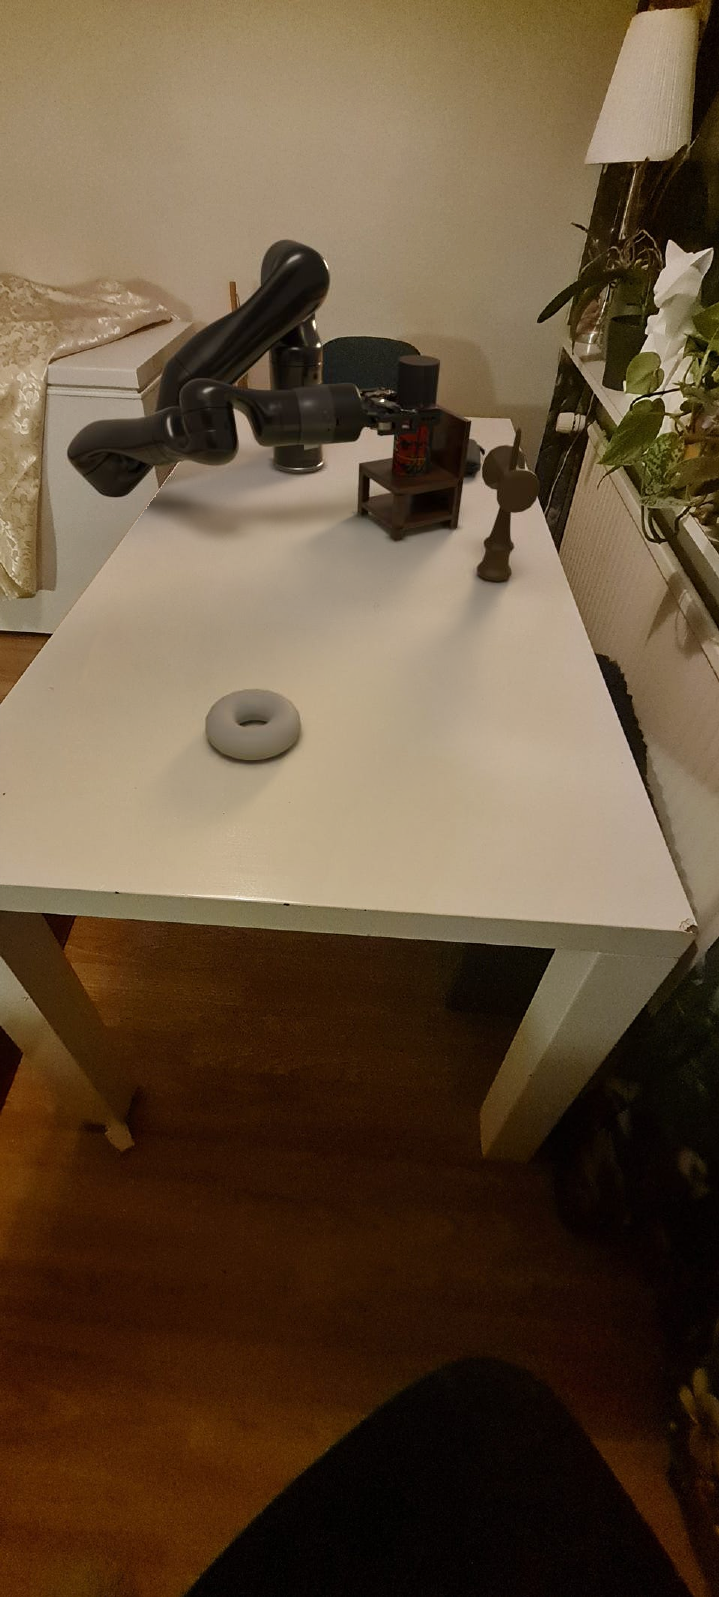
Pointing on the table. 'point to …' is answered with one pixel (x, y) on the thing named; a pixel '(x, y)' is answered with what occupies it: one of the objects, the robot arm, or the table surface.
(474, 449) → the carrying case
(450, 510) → the miniature wooden chair
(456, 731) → the table surface
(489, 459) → the kendama
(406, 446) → the deodorant
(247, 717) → the donut
